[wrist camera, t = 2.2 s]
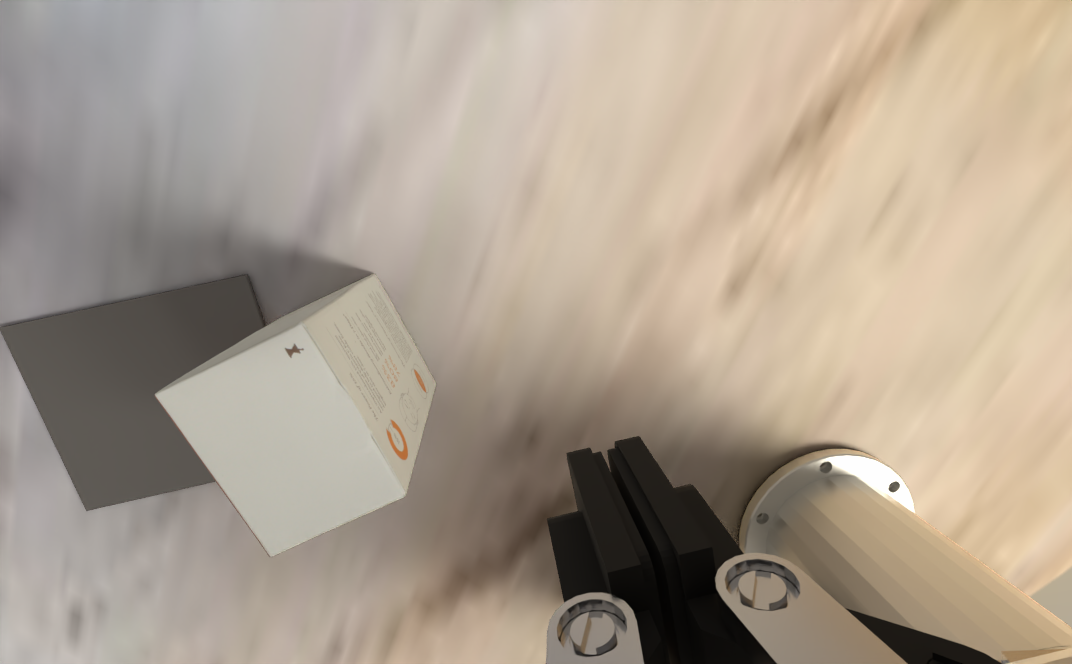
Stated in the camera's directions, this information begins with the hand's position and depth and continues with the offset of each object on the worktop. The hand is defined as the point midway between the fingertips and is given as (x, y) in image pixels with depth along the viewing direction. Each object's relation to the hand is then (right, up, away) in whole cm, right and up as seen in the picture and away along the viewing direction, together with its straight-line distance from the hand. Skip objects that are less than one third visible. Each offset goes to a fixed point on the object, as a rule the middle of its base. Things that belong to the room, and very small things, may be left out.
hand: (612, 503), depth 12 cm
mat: (-24, 0, +20) cm, 32 cm away
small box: (-12, +3, +21) cm, 25 cm away
